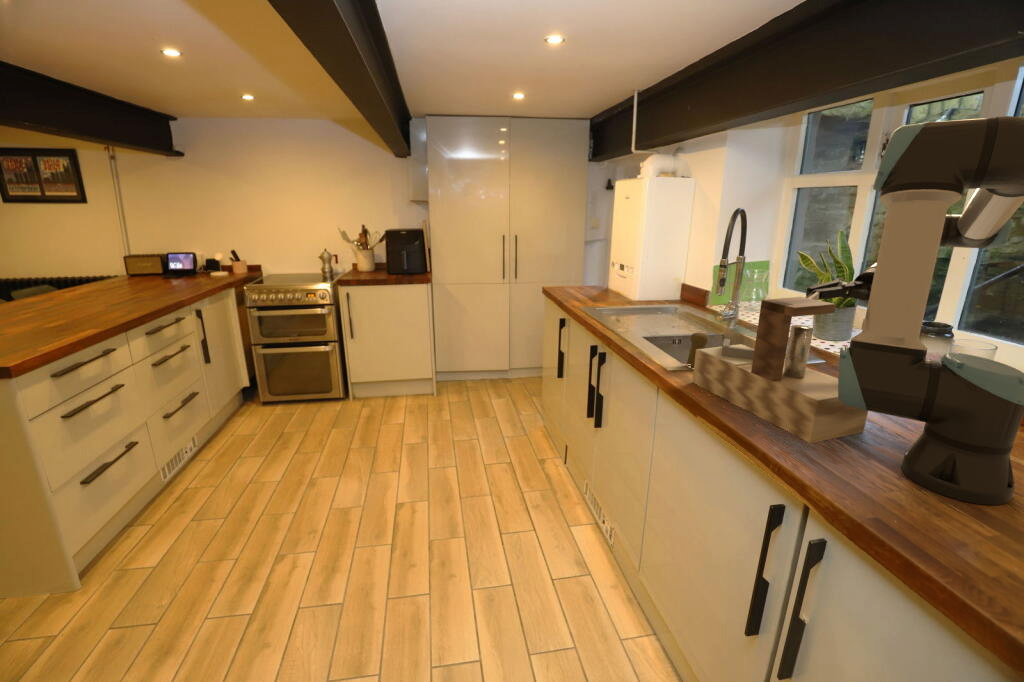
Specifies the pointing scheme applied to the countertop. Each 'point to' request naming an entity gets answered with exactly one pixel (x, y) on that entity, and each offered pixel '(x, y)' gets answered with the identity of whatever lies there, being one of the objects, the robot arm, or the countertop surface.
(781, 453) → the countertop surface
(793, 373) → the axle
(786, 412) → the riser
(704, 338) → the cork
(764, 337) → the brown wooden l bracket
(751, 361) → the v cradle
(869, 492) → the countertop surface
